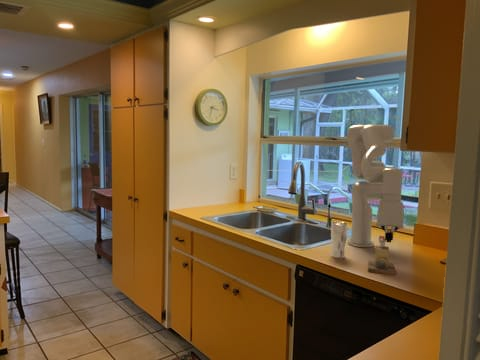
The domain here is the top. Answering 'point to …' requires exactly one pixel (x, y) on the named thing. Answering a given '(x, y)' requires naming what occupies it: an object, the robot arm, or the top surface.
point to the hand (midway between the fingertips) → (388, 241)
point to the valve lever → (382, 241)
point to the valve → (381, 262)
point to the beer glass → (338, 239)
